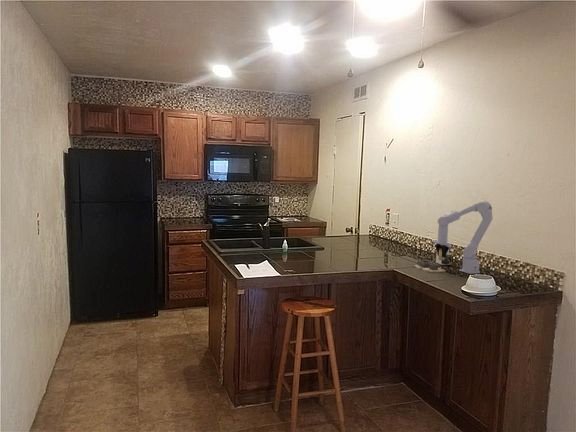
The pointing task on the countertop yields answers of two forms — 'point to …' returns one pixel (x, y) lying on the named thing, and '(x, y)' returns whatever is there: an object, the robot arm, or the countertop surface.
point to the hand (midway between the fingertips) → (441, 256)
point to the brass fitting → (440, 255)
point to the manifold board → (428, 266)
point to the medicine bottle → (446, 259)
